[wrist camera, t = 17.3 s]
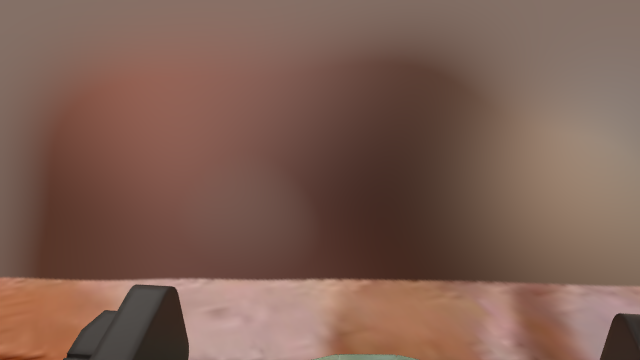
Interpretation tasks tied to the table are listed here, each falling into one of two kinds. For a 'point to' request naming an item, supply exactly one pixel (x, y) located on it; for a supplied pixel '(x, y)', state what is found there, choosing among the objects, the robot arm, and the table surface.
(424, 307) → the table surface
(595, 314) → the table surface
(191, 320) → the table surface
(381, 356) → the green round tub
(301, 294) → the table surface
